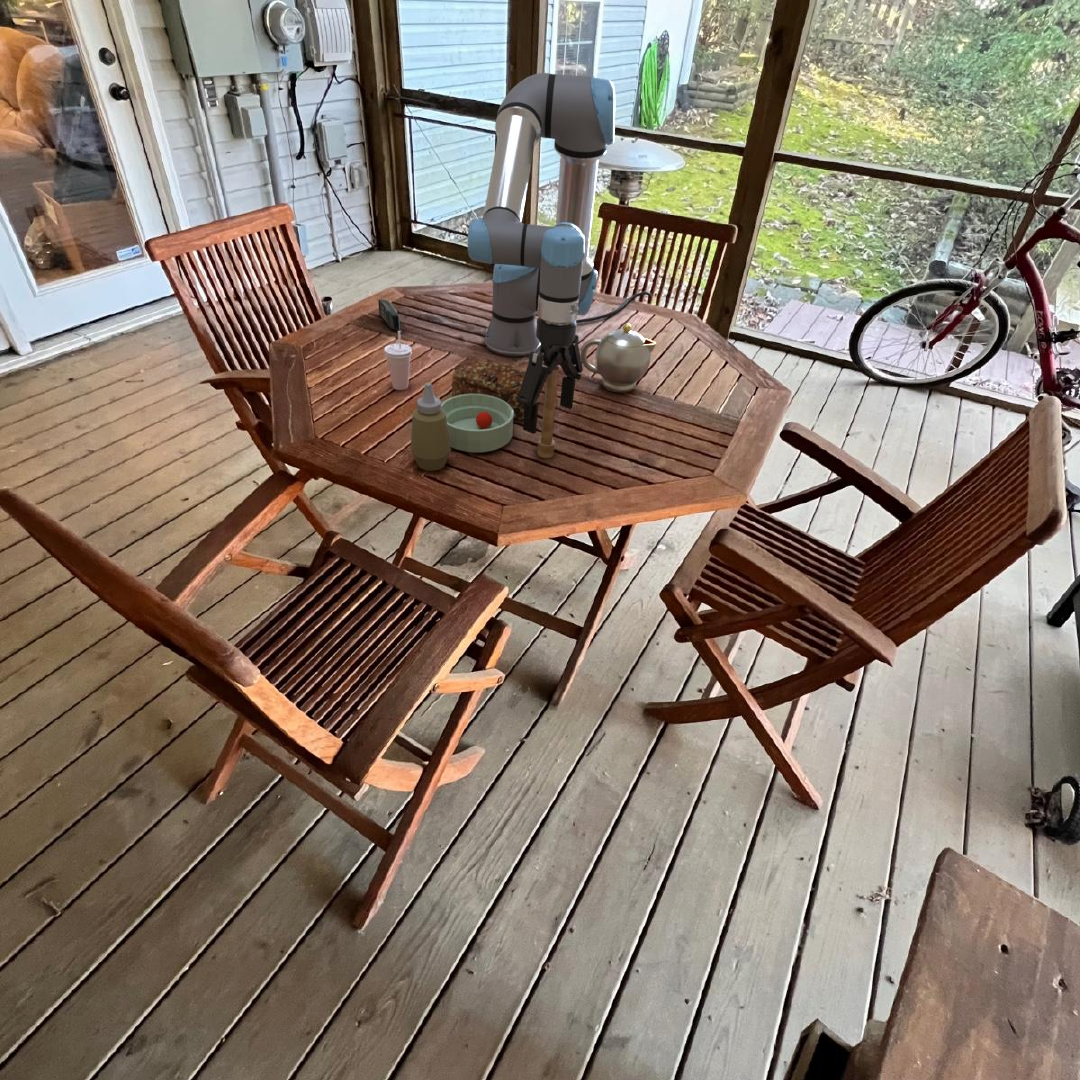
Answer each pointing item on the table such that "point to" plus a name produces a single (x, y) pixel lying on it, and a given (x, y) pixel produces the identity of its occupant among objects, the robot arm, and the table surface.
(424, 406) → the squeeze bottle
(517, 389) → the bread
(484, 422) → the cherry tomato
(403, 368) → the smoothie
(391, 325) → the dark grey tapered piece
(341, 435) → the table surface
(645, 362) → the teapot
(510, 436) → the bowl
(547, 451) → the muddler
